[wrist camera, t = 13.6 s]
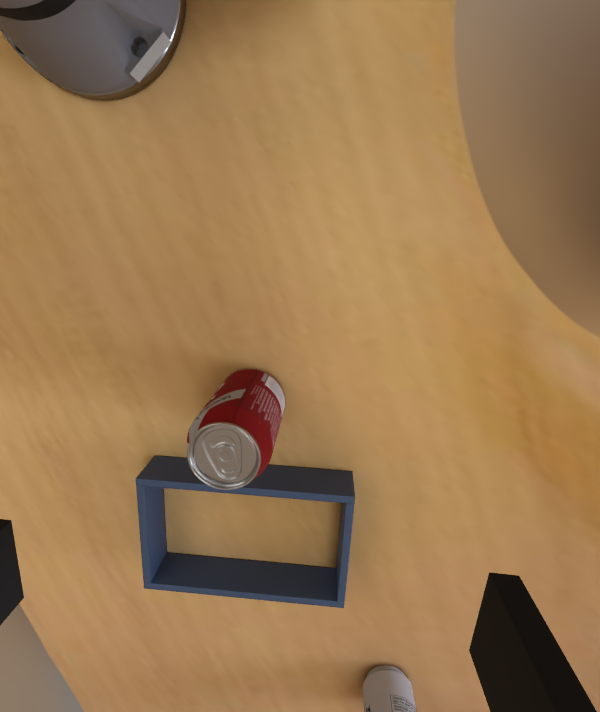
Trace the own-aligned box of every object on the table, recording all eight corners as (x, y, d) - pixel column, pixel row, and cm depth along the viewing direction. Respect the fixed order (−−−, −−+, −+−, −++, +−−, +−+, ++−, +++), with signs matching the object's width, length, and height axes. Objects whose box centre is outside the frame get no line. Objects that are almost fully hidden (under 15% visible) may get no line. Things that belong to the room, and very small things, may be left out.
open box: (154, 455, 43) (135, 478, 39) (352, 471, 42) (355, 496, 38) (160, 557, 47) (143, 588, 43) (342, 574, 46) (343, 608, 41)
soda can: (278, 361, 39) (257, 408, 28) (291, 422, 41) (277, 491, 29) (213, 372, 40) (167, 423, 28) (229, 431, 42) (192, 502, 30)
